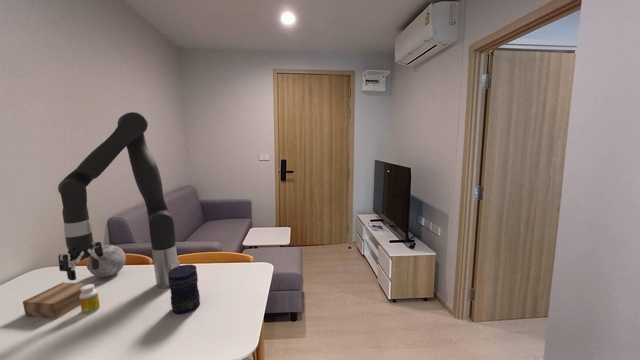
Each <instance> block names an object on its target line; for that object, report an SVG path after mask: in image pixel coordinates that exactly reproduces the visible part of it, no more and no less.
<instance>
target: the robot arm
mask: <svg viewBox="0 0 640 360" xmlns="http://www.w3.org/2000/svg"><path fill="white" fill-rule="evenodd" d="M148 123H149V122H148V120H147V118H146V117H145V116H144V115H143V114H141V113H139V112H135V111H133V112H127V113H124V114H123V115H121V116H120V117H118V120H117V127H116V128H115V130H114V131H113V132H112V133H111V134H110V135H109V136H108V138H106V139H105V140H104V141H103V142H102V143H100V144H99V145H98V146H97V147H96V148H95V149H93V150H92V151H91V152H90V153H89V154H88V155H87V156H86V157H85V158H84V159H83V160H82V161H81V162H80V163H79V164H78V166H77V167H76V168H75V169H74V170H73V171H71V172H70V173H69V174H68V175H66V176H65V177H64V178H63V179H62V180H61V181H60V183H59V184H58V186H57V191H58V193H59V194H60V199H61V202H62V203H61V204H62V210H61V211H62V220H63V232H64V239H65V246H66V248H67V253H64V254H62V253H61V254H59V255H58V257H57V258H58V266H59V268H58V270H59V271H60V272H66V275H67V280H69V281H75V280H77V276H76V275H77V273H76V267H77V265H78V264H79V263H80V262H81V261H83V260H85V259H89V258H90V259H92V260H91V264H92V269H93V270H97V269H98V268H99V261H98V259H99V257H101V256H103V250H102V247H103V246H102V245H103V244H102V241H94V237H93V231H92V230H93V229H92V224H91V221H90V214H89V209H88V195H87V194H88V193H87V187H88V186H89V185H90V184H91V182H92V181H93V180H95V179H97V178H98V177H99V176H101V175H102V173H103V172H104V171H106V169H107V168H108V167H109V166H110V165H111V164H112V163H113V161H115V159H116V158H117V157H118V156H119V154H120V153H121V152H122V151H123V150H124V149H125V148H126V149H127V153H128V158H129V163H130V167H131V170H132V174H133V177H134V181H135V183H136V186H137V188H138V190H139V193H140V194H141V197H142V199H143V201H144V203H145V208H146V214H147V219H148V220H147V221H148V228H149V237H150V246H151V252H152V260H153V267H154V275H155V276H154V277H155V282H156V283H155V284H156V287H157V288H158V289H166V288H169V282H168V280H169V279H168V272H169V271H170V270H171V269H173V268H175V267H178V266H181V261H180V260H178V255H177V253H178V252H177V243H176V231H175V229H176V228H175V222H174V218H173V216H172V215H171V212H170V210H169V208H168V206H167V203H166V200H165V197H164V191H163V190H164V189H163V183H162V178H161V173H160V170H159V168H158V165H157V163H156V160H155V158H154V156H153V155H152V153H151V151H150V150H149V147H148V144H147V141H146V136H145V132H146V131H147V129H148V125H149V124H148ZM93 250H94V251H93ZM94 252H95V253H94Z"/></svg>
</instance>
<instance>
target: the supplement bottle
mask: <svg viewBox="0 0 640 360" xmlns="http://www.w3.org/2000/svg"><path fill="white" fill-rule="evenodd" d="M88 284H89V285H86V286H83V287H82V288H81V294H80V296H79V298H80V304H81V305H80V308H81V309H80V310H81V314H82V315H90V314H94V313H95V312H98V311H99V310H100V309H101V305H100V304H101V303H100V298H99V292H98V290H97V289H95V288H96V287H95V284H92V283H88Z"/></svg>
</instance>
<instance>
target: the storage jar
mask: <svg viewBox="0 0 640 360" xmlns="http://www.w3.org/2000/svg"><path fill="white" fill-rule="evenodd" d="M197 271H198V270H197V266H196V265H195V264H183V265H180V266H178V267H175V268H173V269H171V270H170V271H169V272H168V279H169V280H168V282H169V287H168V288H169V289H170V295H171V296H170V305H171V308H172V309H171V311H172V313H173V314H174V315H175V316H176V315H178V316H182V315H187V314H191V313H192V312H195V311H196V310H198V309H199V308H200V306H201V299H200V298H201V296H200V290H199V286H198V281H199V280H198V279H199V278H198V272H197Z"/></svg>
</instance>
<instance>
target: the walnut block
mask: <svg viewBox="0 0 640 360" xmlns="http://www.w3.org/2000/svg"><path fill="white" fill-rule="evenodd" d="M89 284H90V283H78V282H77V283H76V282H63V281H62V282H61V283H58V284H57V285H54V286H53V287H50V288H48V289H46V290H44V291H42V292H39V293H38V294H35V295H33V296H31V297H29V298H27V299H25V300H23V301H22V305H23V310H24V315H25V317H26V318H27V317H30V318H42V319H50V320H51V319H53V320H54V319H55V320H57V319H60V318H62V317H63V316H65V315H66V314H68V313H70V312H71V311H73V310H75V309H76V308H78V307H81V304H80V298H79V296H80V294H81V288H82V287H83V286H86V285H89Z"/></svg>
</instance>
